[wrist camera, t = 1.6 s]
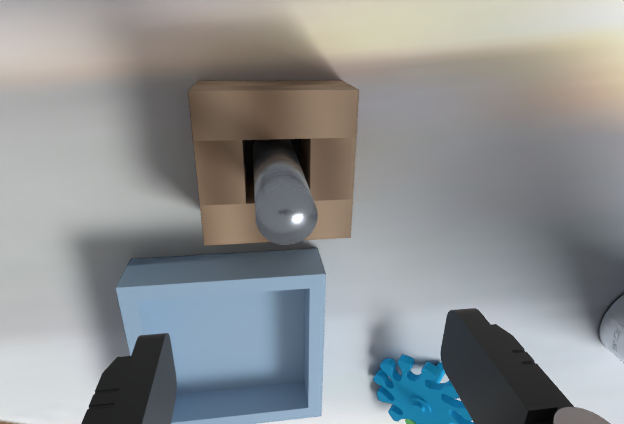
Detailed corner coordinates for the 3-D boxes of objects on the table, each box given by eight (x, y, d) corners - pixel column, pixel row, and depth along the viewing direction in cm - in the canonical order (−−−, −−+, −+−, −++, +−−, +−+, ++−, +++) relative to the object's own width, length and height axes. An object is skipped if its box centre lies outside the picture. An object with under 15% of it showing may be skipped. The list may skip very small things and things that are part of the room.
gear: (375, 346, 38) (485, 408, 33) (404, 309, 42) (506, 359, 37) (365, 417, 44) (457, 479, 39) (391, 378, 48) (477, 430, 43)
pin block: (341, 80, 29) (359, 90, 25) (336, 209, 33) (350, 237, 29) (197, 80, 28) (187, 91, 23) (210, 214, 32) (204, 245, 28)
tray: (317, 248, 35) (325, 273, 31) (314, 381, 41) (321, 416, 37) (130, 258, 33) (115, 287, 29) (157, 397, 39) (147, 435, 35)
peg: (293, 130, 30) (318, 186, 19) (293, 169, 31) (316, 243, 21) (252, 131, 30) (253, 189, 19) (253, 170, 31) (256, 246, 20)
